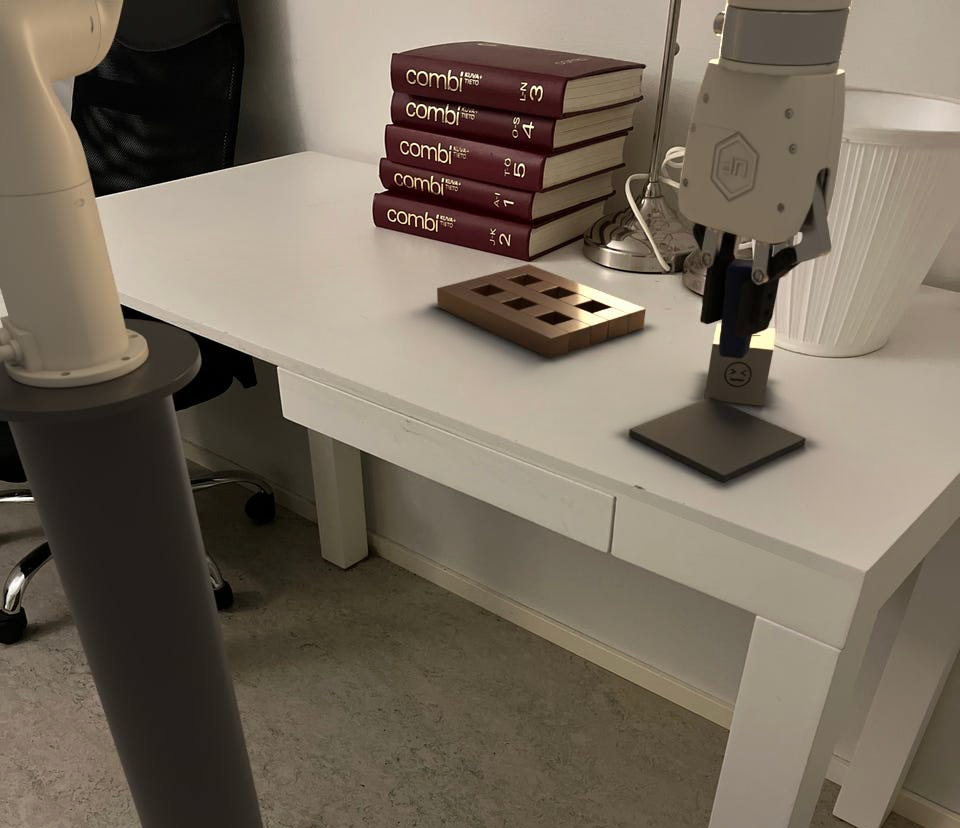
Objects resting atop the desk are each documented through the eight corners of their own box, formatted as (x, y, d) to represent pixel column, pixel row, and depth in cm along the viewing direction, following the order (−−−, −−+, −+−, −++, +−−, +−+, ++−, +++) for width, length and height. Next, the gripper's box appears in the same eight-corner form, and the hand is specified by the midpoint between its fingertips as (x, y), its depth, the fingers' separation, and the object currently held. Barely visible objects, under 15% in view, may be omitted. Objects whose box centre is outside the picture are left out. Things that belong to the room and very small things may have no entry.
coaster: (722, 482, 73) (724, 475, 73) (628, 435, 79) (629, 428, 79) (804, 444, 78) (806, 437, 77) (709, 403, 84) (710, 396, 84)
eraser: (724, 345, 75) (733, 256, 71) (752, 349, 74) (763, 259, 70) (715, 356, 74) (723, 265, 69) (743, 360, 73) (754, 269, 68)
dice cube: (765, 382, 87) (775, 328, 84) (762, 405, 83) (773, 349, 80) (709, 376, 88) (717, 322, 85) (704, 399, 84) (712, 343, 81)
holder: (549, 359, 92) (550, 338, 90) (437, 306, 103) (436, 287, 101) (644, 328, 98) (646, 308, 97) (528, 282, 109) (529, 264, 108)
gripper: (647, 32, 64) (621, 307, 76) (856, 61, 54) (790, 373, 66) (721, 23, 68) (686, 287, 79) (930, 49, 58) (855, 346, 69)
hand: (734, 324), depth 72 cm, fingers closed on eraser, 2 cm apart
